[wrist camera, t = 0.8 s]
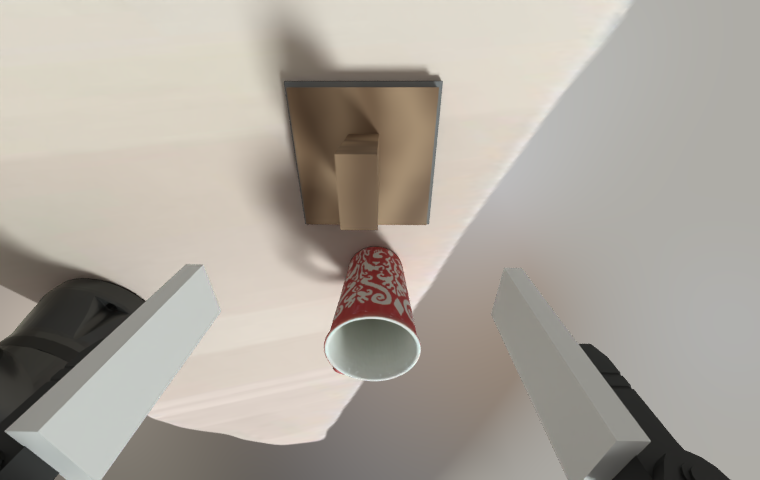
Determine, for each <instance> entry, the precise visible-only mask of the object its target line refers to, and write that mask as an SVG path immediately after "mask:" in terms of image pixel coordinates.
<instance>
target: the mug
mask: <svg viewBox="0 0 760 480" xmlns="http://www.w3.org/2000/svg"><path fill="white" fill-rule="evenodd" d="M324 352H325V355H326V358H327V360H328V361H329V363H330V364H331V365H332V366H333V369H334V371H336V372H338V373H340V374H344V375H347V376H349V377H352V378H356V379H360V380H365V381H382V380H388V379H392V378H395V377H398V376H400V375H402V374H404V373H406V372H407V371H408V370H410V369H411V368H412V367H413V366H414V365H415V364H416V362H417V361H418V359H419V356H420V352H421V344H420V341H419V338H418V336H417V334H416V330H415V325H414V320H413V315H412V310H411V306H410V301H409V296H408V291H407V287H406V282H405V277H404V272H403V267H402V264H401V261H400V259H399V258H398V257H397V255H396V254H394V253H393V252H392V251H390V250H388V249H386V248H382V247H369V248H365V249H363V250H361V251H359V252H358V253H357V254H356V255H355V256H354V257H353V258H352V260H351V262H350V265H349V268H348V272H347V275H346V279H345V282H344V285H343V289H342V293H341V296H340V300H339V302H338V306H337V309H336V312H335V315H334V319H333V323H332V326H331V330H330V332H329V333H328V335H327V337H326V339H325V342H324Z"/></svg>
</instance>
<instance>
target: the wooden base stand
mask: <svg viewBox="0 0 760 480" xmlns="http://www.w3.org/2000/svg"><path fill="white" fill-rule="evenodd" d="M286 90H287V97H288V103H289V110H290V117H291V123H292V130H293V137H294V143H295V150H296V157H297V164H298V170H299V177H300V184H301V190H302V197H303V204H304V211H305V217H306V224H335V225H340V230H378V225H426V224H427V213H428V202H429V192H430V181H431V170H432V159H433V148H434V137H435V127H436V116H437V105H438V94H439V87H287V88H286Z"/></svg>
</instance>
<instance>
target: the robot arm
mask: <svg viewBox="0 0 760 480" xmlns="http://www.w3.org/2000/svg"><path fill="white" fill-rule="evenodd" d="M220 312H221V310H220V307H219V304H218V302H217V299H216V296H215V294H214V291H213V289H212V286H211V283H210V281H209V278H208V276H207V273H206V270H205V268H204V265H187V264H186V265H185V266H184V267H183V268H182V269H181V270H179V271H178V272H177V273H176V274H175V275H174V276H173V277H172V278H171V279H170V280H169V281H167V282H166V283H165V284H164V285H163V286H162V287H161V288H160V289H159V290H158V291H157V292H155V293H154V294H153V295H152V296H151V297H150V298H149V299H148V300H147V301H146V302H144V301H143V300H142V299H141V298H139V297H138V296H136V295H135V294H133V293H131V292H130V291H128V290H126V289H124V288H122V287H119V286H117V285H114V284H111V283H108V282H104V281H100V280H95V279H74V280H69V281H67V282H64V283H63V284H61V285H59V286H58V287H56V288H55V289H53V290H51V291H50V292H48V293H47V294H46V295H45V296H43V298H42V299H41V300H40V302H39V303H38V304H37V305H36V307H34V309H33V310H32V311H31V312H30V313H29V314H28V315H27V316H26V318H25V319H24V320H23V321H22V322H21V324H20V325H19V326H18V327H17V328H16V330H15V331H14V332H13V333H12V334H11V335H10V336H8V337H7V338H5V339H4V340H3V341H1V342H0V480H54V479H55V477H56V476H57V475H58V474H60V475H61V476H63V477H64V478H65V479H67V480H101V479H102V478H103V476H104V475H105V474H106V472H107V471H108V469H109V468H110V466H111V465H112V464H113V462H114V461H115V459H116V458H117V457H118V455H119V454H120V453H121V451H122V450H123V448H124V447H125V446H126V444H127V443H128V441H129V440H130V438H131V437H132V436H133V434H134V433H135V431H136V430H137V429H138V427H139V426H140V424H141V423H142V422H143V420H144V419H145V417H146V416H147V415H148V413H149V412H150V410H151V409H152V408H153V406H154V405H155V403H156V402H157V401H158V399H159V398H160V396H161V395H162V394H163V392H164V391H165V389H166V388H167V387H168V385H169V384H170V382H171V381H172V380H173V378H174V377H175V375H176V374H177V373H178V371H179V370H180V368H181V367H182V365H183V364H184V363H185V361H186V360H187V358H188V357H189V356H190V354H191V353H192V351H193V350H194V349H195V347H196V346H197V344H198V343H199V342H200V340H201V339H202V337H203V336H204V335H205V333H206V332H207V330H208V329H209V328H210V326H211V325H212V323H213V322H214V321H215V319H216V318H217V316H218V315H219V314H220ZM491 315H492V318H493V320H494V322H495V324H496V326H497V328H498V330H499V332H500V335H501V337H502V339H503V341H504V343H505V345H506V348H507V350H508V352H509V354H510V356H511V358H512V361H513V363H514V365H515V367H516V369H517V371H518V373H519V375H520V378H521V380H522V382H523V384H524V387H525V389H526V391H527V393H528V395H529V397H530V399H531V402H532V404H533V406H534V408H535V410H536V412H537V415H538V417H539V419H540V421H541V423H542V425H543V428H544V430H545V432H546V434H547V436H548V438H549V440H550V443H551V445H552V447H553V449H554V451H555V453H556V455H557V458H558V460H559V462H560V464H561V466H562V468H563V471H564V473H565V475H566V477H567V479H568V480H730V479H729V478H727V477H726V476H725V475H724V474H723V473H722V472H721V471H720V470H718V468H717V467H715V466H714V465H712V464H711V463H709V462H707V461H706V460H705V459H703V458H702V457H699V456H697V455H695V454H693V453H690V452H688V451H685V450H684V449H683V448H682V447H681V446H680V445H679V444H678V443H677V442H676V440H675V439H674V438H673V437H672V436H671V434H670V433H669V432H668V431H667V430H666V428H665V427H664V426H663V424H662V423H661V422H660V421H659V420H658V418H657V417H656V416H655V415H654V413H653V412H652V411H651V410H650V409H649V407H648V406H647V405H646V404H645V402H644V401H643V400H642V399H641V398H640V396H639V395H638V394H637V393H636V391H635V390H634V389H631V385H630V384H629V383H628V382H627V380H626V379H625V378H624V377H623V376H621V375H620V372H619V371H618V369H617V368H616V367H615V366H614V364H613V363H612V362H611V361H610V360H609V358H608V357H607V356H605V355H604V354H603V353H601V352H600V351H599V350H598V349H597V348H595V347H594V346H593V345H591V344H578V343H577V341H576V340H575V339H574V337H573V336H572V335H571V333H570V332H569V331H568V329H567V328H566V327H565V326H564V324H563V323H562V321H561V320H560V319H559V317H558V316H557V315H556V313H555V312H554V310H553V309H552V308H551V307H550V305H549V304H548V302H547V301H546V300H545V299H544V297H543V296H542V294H541V293H540V292H539V290H538V289H537V288H536V286H535V285H534V284H533V282H532V281H531V280H530V279H529V277H528V276H527V274H526V273H525V272H524V270H523V269H522V268H504V270H503V274H502V277H501V281H500V285H499V288H498V292H497V295H496V299H495V302H494V306H493V309H492V313H491Z"/></svg>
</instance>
